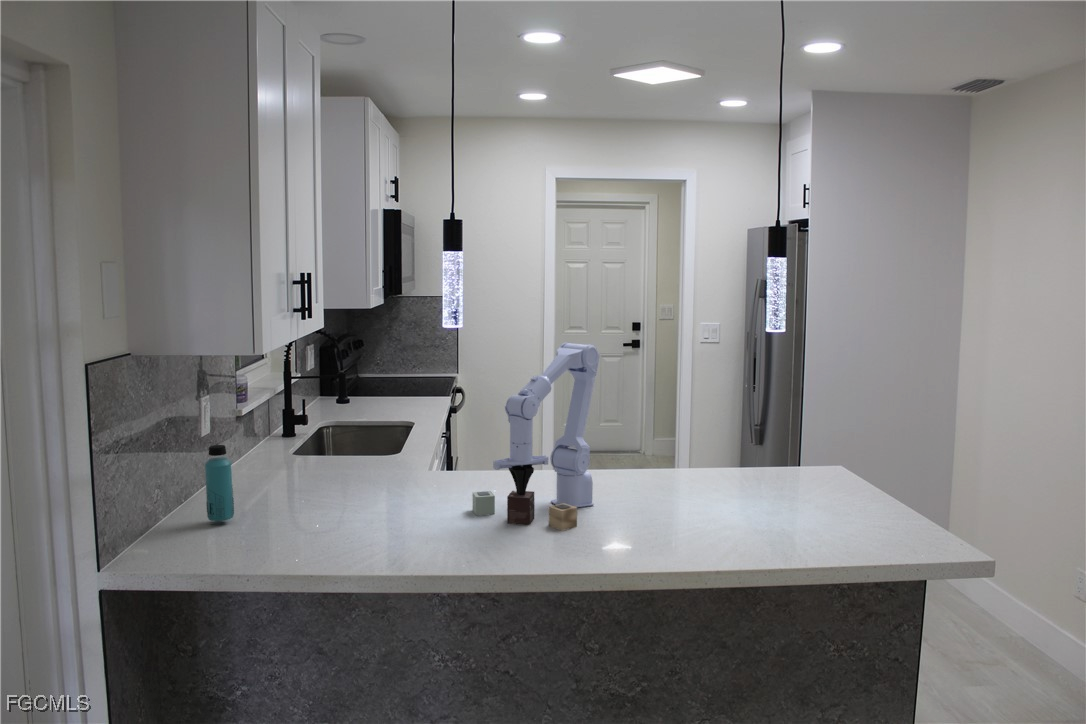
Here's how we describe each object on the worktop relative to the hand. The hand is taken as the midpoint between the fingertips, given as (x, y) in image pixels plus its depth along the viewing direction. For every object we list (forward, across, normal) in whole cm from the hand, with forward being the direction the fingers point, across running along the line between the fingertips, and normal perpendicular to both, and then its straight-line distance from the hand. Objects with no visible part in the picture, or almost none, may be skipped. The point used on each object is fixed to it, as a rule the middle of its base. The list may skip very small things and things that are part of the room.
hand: (520, 494), depth 218 cm
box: (+7, 0, 0) cm, 7 cm away
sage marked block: (+7, +6, -11) cm, 14 cm away
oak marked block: (+7, -8, +8) cm, 13 cm away
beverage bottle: (+8, +70, -29) cm, 76 cm away
